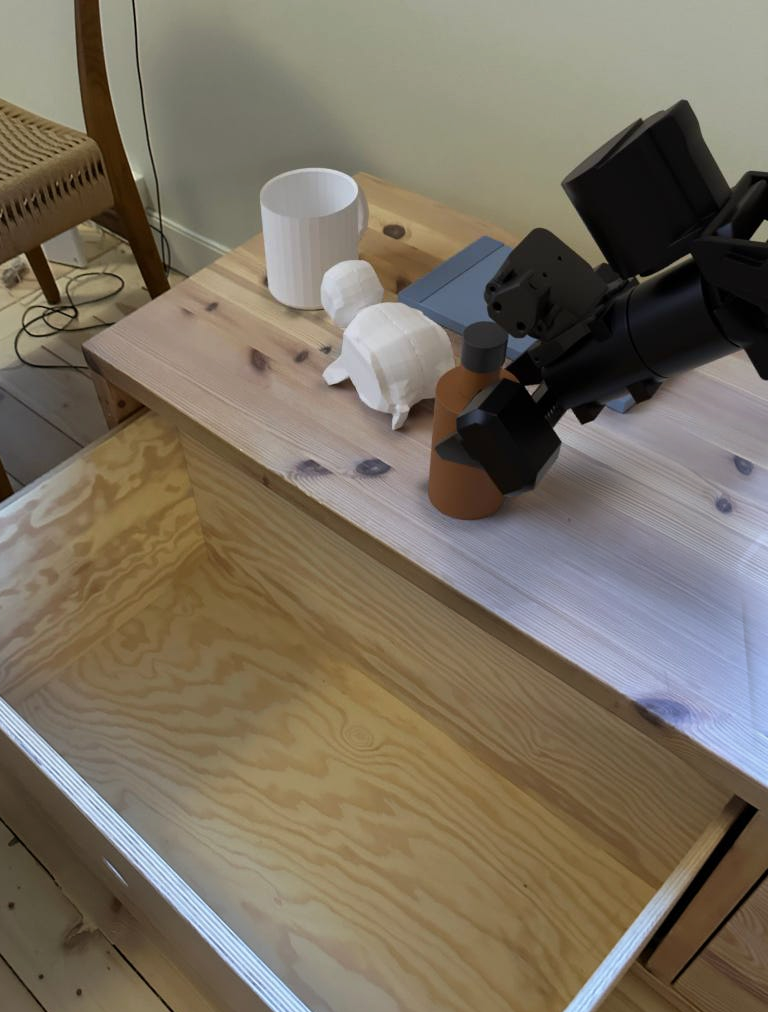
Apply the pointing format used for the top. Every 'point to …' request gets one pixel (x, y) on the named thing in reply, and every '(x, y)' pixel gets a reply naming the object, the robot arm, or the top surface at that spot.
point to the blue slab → (469, 295)
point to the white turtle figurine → (382, 342)
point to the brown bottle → (451, 482)
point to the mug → (309, 231)
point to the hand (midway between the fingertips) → (470, 415)
